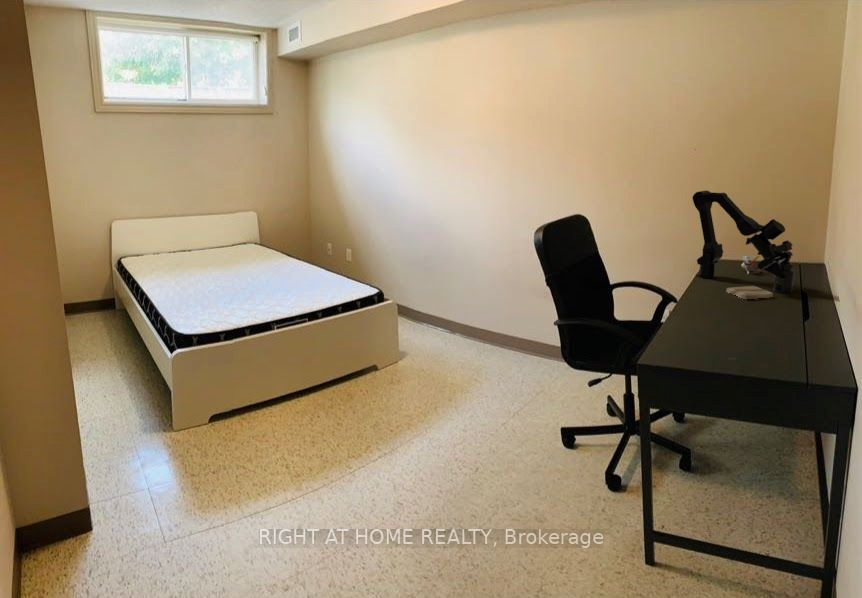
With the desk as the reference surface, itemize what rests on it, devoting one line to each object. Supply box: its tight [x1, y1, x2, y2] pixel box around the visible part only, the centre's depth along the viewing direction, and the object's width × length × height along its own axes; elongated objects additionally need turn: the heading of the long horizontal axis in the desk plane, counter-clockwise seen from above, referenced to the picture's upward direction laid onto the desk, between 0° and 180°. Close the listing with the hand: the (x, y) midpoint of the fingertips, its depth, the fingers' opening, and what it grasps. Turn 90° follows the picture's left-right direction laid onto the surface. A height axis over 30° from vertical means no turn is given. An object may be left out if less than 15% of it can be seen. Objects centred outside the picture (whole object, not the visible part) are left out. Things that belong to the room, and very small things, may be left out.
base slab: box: [726, 285, 774, 301], centre depth 244 cm, size 12×12×2 cm
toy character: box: [741, 255, 766, 275], centre depth 277 cm, size 10×9×12 cm
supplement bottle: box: [772, 262, 796, 294], centre depth 246 cm, size 7×7×12 cm
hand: (788, 276), depth 245 cm, fingers closed on supplement bottle, 7 cm apart
